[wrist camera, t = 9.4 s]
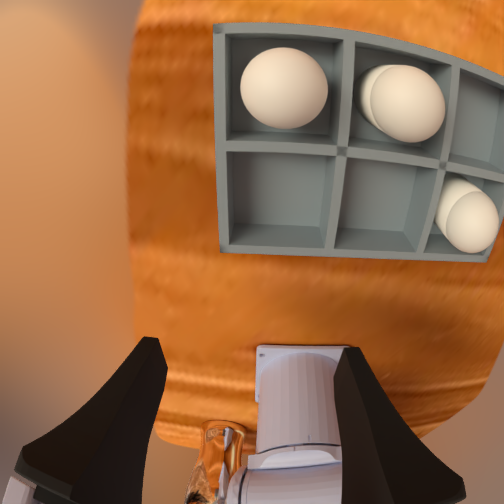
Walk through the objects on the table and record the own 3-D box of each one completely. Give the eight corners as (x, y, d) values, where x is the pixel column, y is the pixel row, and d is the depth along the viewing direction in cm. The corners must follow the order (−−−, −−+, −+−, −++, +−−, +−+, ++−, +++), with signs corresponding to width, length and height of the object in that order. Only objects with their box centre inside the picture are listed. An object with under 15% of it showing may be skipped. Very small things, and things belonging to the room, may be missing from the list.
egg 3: (462, 226, 17) (496, 266, 13) (420, 222, 17) (451, 265, 13) (476, 177, 15) (517, 209, 11) (432, 169, 15) (472, 202, 12)
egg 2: (411, 133, 14) (452, 158, 11) (351, 124, 15) (379, 145, 11) (418, 72, 12) (464, 78, 9) (355, 59, 13) (387, 56, 9)
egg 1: (316, 120, 15) (332, 139, 11) (246, 118, 15) (236, 136, 11) (318, 54, 13) (336, 47, 9) (245, 51, 13) (235, 43, 9)
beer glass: (245, 418, 33) (235, 533, 21) (253, 438, 37) (246, 536, 24) (190, 416, 34) (171, 524, 22) (205, 437, 38) (191, 530, 25)
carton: (466, 238, 18) (486, 262, 16) (227, 225, 19) (220, 252, 17) (500, 82, 12) (530, 90, 9) (223, 31, 13) (213, 23, 10)
